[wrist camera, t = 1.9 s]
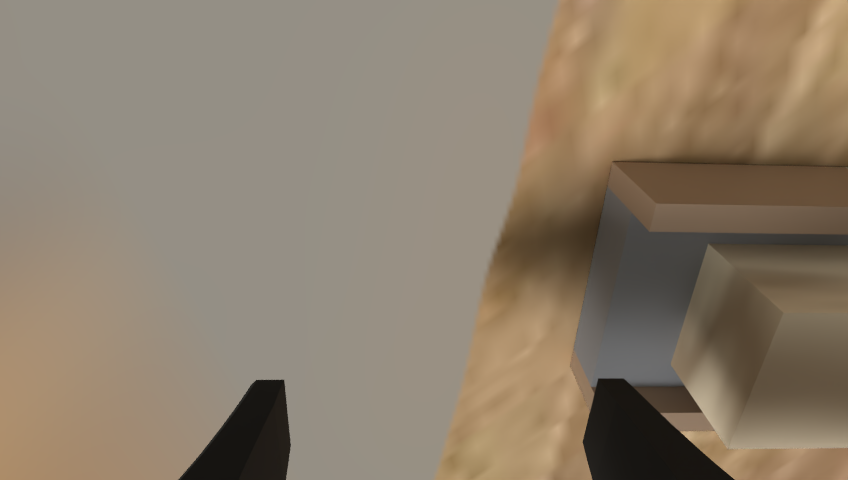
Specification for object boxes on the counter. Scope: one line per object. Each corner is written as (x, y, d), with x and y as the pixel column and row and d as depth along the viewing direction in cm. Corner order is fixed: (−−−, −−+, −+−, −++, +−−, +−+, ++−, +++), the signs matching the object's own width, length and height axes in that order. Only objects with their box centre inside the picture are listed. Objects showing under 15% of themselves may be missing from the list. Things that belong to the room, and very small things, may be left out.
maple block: (800, 364, 18) (883, 447, 15) (670, 364, 18) (727, 449, 15) (855, 245, 16) (962, 313, 13) (708, 243, 16) (783, 312, 13)
